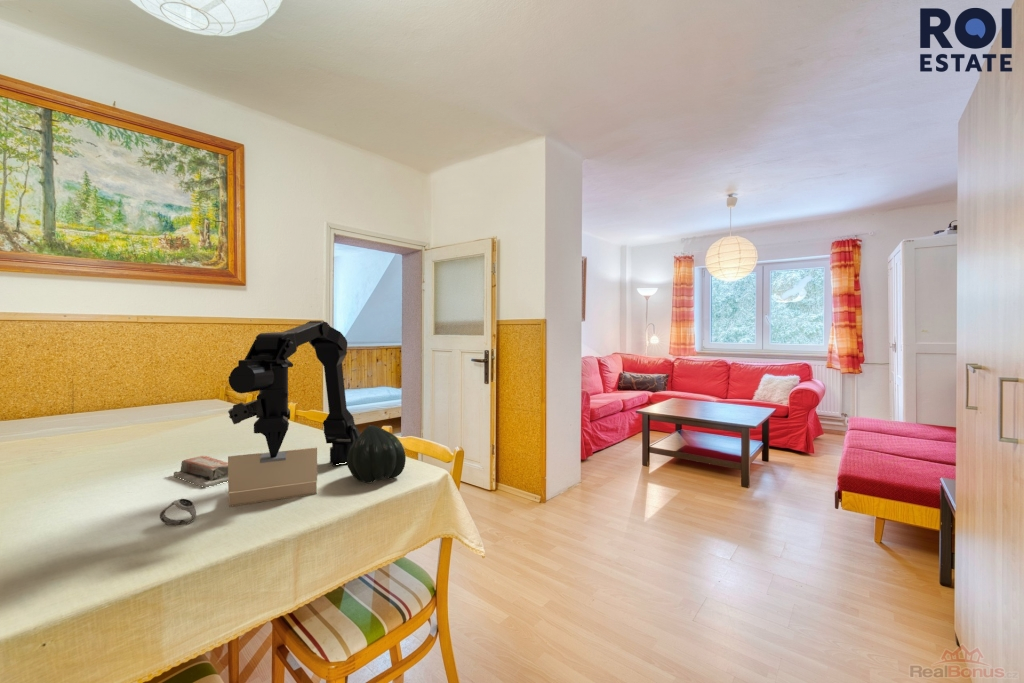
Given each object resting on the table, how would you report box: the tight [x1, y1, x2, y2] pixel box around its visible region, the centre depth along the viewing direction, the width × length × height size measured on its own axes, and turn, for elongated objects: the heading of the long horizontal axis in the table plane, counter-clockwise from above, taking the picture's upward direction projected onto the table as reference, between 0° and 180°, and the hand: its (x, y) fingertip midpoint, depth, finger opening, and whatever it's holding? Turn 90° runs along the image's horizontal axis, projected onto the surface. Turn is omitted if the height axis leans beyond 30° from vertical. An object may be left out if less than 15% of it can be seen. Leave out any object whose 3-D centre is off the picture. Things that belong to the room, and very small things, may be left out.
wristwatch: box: [159, 498, 197, 527], centre depth 87 cm, size 4×6×5 cm, turn 102°
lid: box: [227, 446, 318, 494], centre depth 97 cm, size 18×8×6 cm
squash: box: [346, 424, 407, 484], centre depth 115 cm, size 14×15×15 cm
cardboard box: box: [228, 480, 318, 507], centre depth 103 cm, size 18×8×3 cm, turn 116°
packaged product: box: [173, 455, 228, 488], centre depth 115 cm, size 18×5×10 cm
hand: (273, 456), depth 95 cm, fingers closed, pressing on lid
